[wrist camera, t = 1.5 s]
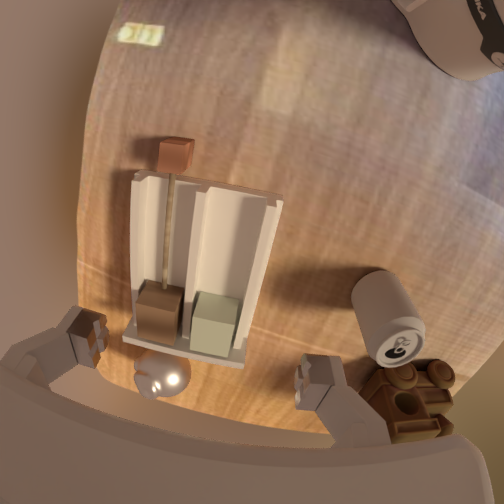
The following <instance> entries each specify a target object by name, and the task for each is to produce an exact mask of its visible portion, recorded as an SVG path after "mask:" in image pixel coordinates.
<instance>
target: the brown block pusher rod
mask: <svg viewBox="0 0 504 504" xmlns="http://www.w3.org/2000/svg"><path fill="white" fill-rule="evenodd" d="M194 142H195V140H194V139H187V138H180V137H171V138H169V139H166V140H164V141H162V142H160V147H159V155H158V165H157V171H160V172H166V173H170V174H169V183H168V193H167V204H166V216H165V229H164V244H163V263H162V283H161V282H156V281H152V280H148V282H147V283H146V285H145V287H144V288H143V290H142V292H141V294H140V295H139V297H138V299H137V301H136V302H135V307H136V322H137V335H138V337H141V338H144V339H148V340H152V341H156V342H160V343H164V344H168V345H172V346H173V345H174V342H175V339H176V337H177V334H178V331H179V328H180V325H181V322H182V313H183V299H184V288H183V287H178V286H174V285H169V284H167V275H168V257H169V243H170V229H171V218H172V207H173V197H174V188H175V179H176V174H178V175H180V174H182V173H183V172H184V171H185V170H186V169H187V168H188V167H190V166H191V162H192V155H193V148H194Z"/></svg>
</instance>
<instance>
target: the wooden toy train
mask: <svg viewBox="0 0 504 504" xmlns="http://www.w3.org/2000/svg"><path fill="white" fill-rule="evenodd" d="M454 382H455V374H454V371H453V369H452V368H451V367H450V366H449V365H448V364H447V363H446V362H444V361H440V360H434V361H432V362H431V363H429V365H428V367H427V372H421V371H417V370H416V369H415V367H414V366H413V365H412V363H410V362H408V363H406V364H404V365H401V366H398V367H391V368H387V367H385V368H384V369H377V371H376V372H375V373H374V374H373V376H372V377H371V378H370V380H369V381H368V382H367V383H366V385H365V386H364V387H363V388H362V390H361V391H360V392H359V393H358V394H359V395H360V396H361V397H362V398H363V399H364V400H365V401H366V402H367V403H368V404H369V405H370V406H371V407H372V408H373V409H374V410H375V411H376V412H377V413H378V414H379V415H380V416H381V417H382V418H383V419H384V420H385V421H386V425H387V429H388V433H389V436H390V440H391V444H399V443H407V442H414V441H420V440H426V439H431V438H437V437H442V436H446V435H451V434H452V432H453V428H454V425H453V424H452V423H451V422H450V421H449V420H447V419H446V418H445V417H444V415H445V414H446V413H447V412H448V411H449V410H450V408H451V407H452V406H453V400H452V397H451V394H450V392H449V390H448V388H450V387H452V386H453V385H454Z"/></svg>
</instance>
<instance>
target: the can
mask: <svg viewBox="0 0 504 504" xmlns="http://www.w3.org/2000/svg"><path fill="white" fill-rule="evenodd" d="M351 302H352V305H353V308H354V311H355V314H356V317H357V320H358V323H359V326H360V330H361V333H362V336H363V339H364V342H365V346H366V349H367V352H368V354H369V356H370V357H371V358H372V359H374V360H375V361H376V362H377V363H378V364H379V365H380V366H383V367H387V368H391V367H398V366H401V365H404V364H406V363H408V362H410V361H411V360H413V359H414V358H415V357H416V356H417V355H418V354H419V353H420V352H421V350H422V349H423V347H424V344H425V337H424V336H425V331H426V329H425V325H424V322H423V321H422V319H421V317H420V315H419V313H418V311H417V310H416V308H415V306H414V304H413V302H412V301H411V299H410V297H409V295H408V294H407V292H406V290H405V289H404V287H403V285H402V283H401V282H400V280H399V278H398V277H397V276H396V275H395V274H393V273H391V272H389V271H375V272H372V273H370V274H368V275H366V276H364V277H363V278H362V279H360V280H359V281H358V282H357V284H356V285H355V287H354V288H353V291H352V294H351Z"/></svg>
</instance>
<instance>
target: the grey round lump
mask: <svg viewBox="0 0 504 504" xmlns="http://www.w3.org/2000/svg"><path fill="white" fill-rule="evenodd" d="M134 369H135V370H136V371H137V372H136V373H135V374H134V381H135V384H136V385H137V388H138V390H139V392H140V394H141V395H142V396H143V397H145V398H148V399H155V398H157V397H158V396H161V397H171V396H175V395H177V394H179V393H181V392H182V391H183V390H184V389H185V388H186V387H187V386H188V384H189V382H190V379H191V365H190V362H189V360H188V358H184V357H180V356H176V355H172V354H168V353H164V352H160V351H156V350H152V349H147V350H146V351H145V352H144V353H143V354H142V355H141V356H139V357H137V358H136V360H135V362H134Z"/></svg>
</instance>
